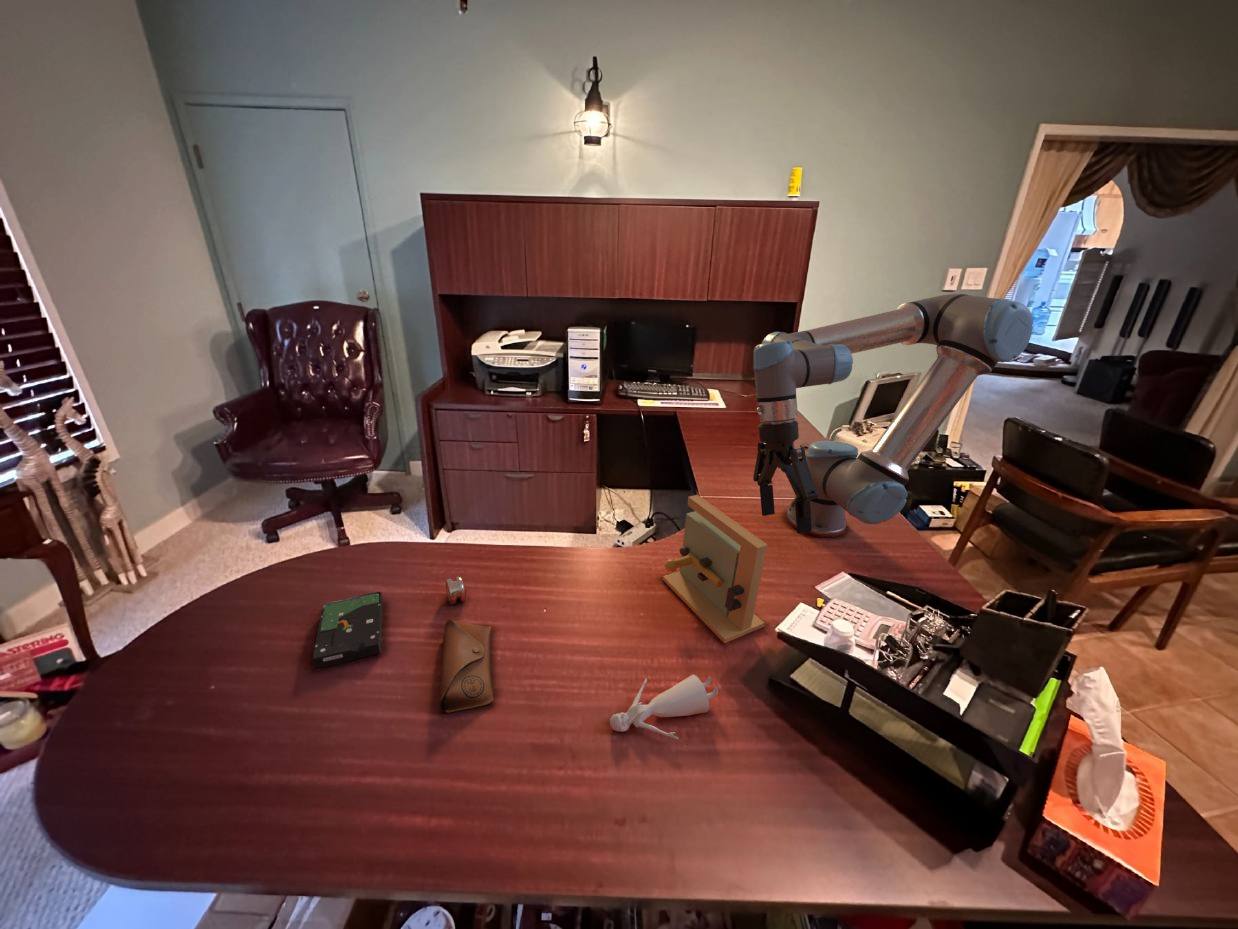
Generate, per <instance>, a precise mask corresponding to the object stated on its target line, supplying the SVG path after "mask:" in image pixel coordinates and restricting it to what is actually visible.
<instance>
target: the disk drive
mask: <svg viewBox="0 0 1238 929" xmlns="http://www.w3.org/2000/svg"><path fill="white" fill-rule="evenodd" d="M383 611H384V597H383V594H382V591H376V592H371V593H365V594H361V595H355V596H351V598H344V599H339V600H335V601H326V602H325V604H323V605H322V609H321V610H320V618H319V623H318V627H317V633H316V638H315V645H314V648H313V654H312V661H313V664H314V668H315V669H319V668H324V667H328V666H329V667H330V666H333V665H338V664H341V663H346V662H350V661H354V660H355V661H356V660H358V659H362V658H368V657H371V656H375V655H378V654H381V653H382V647H383V617H384V616H383V613H384V612H383Z"/></svg>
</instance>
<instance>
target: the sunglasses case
mask: <svg viewBox="0 0 1238 929" xmlns="http://www.w3.org/2000/svg"><path fill="white" fill-rule="evenodd" d="M443 631H444V632H443V642H442V654H441V668H440V679H439V680H440V682H439V708H440V710H441V711H443V712H444V713H447V714H452V713H458V712H463V711H464V712H465V711H469V710H473V709H476V708H481V707H484V706H487V705H490V704H492V703H493V702H494V700H495V698H494V697H495V696H494V690H493V689H494V688H493V682H492V671H491V633H492V625H481V624H474V623H468V622H463V621H462V622H461V621H457V620H453V619H452V618H449V619H448V620H447V621H446V622H445V625H444V630H443Z"/></svg>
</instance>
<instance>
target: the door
mask: <svg viewBox="0 0 1238 929" xmlns="http://www.w3.org/2000/svg"><path fill="white" fill-rule="evenodd" d="M687 506H688V507H689V508H690V509H692V510H693V511H691V512H688V513H687V512H686V513H685V514H686V515H685V522H684V530H683V539H682V540H683V541H682V546H681V547H680V548H679V554H680V555H681V557H680V558H682V557H685V556H687V555H688V554H689V553H692V554H693V555H694V556H695V557H696V558H698V559H699V560H700V562H699V564H701V565H702V566H703V567H704V568H705V567H708V568H709V569H710V570H711V571H712V572H713V573H715V574H716V575H717V576H718V577H719V578H720V579H721V580H723V584H722V585H721V586H720V587H717V586H716V585H715V584H714V583H713V582H711V581H710V580H709V579H708V578H707V577H706V576H705V575H704V574H703V573H702V572H700V571H699V570H698V569H697V568H696V567H695V566H694V565H693V564H692V563H691V564H689V565H686V566H683V567H680V568H679V570H678V571H676V572H675V571H674V572H671V573H669V574H665V575H663V576H662V581H663V582H664V583H665V584H666V585H667V586H668V588H670V589H671V590H672V591H673V592H674V593H675V594H676V596H678V597H679V599H681V601H682V602H684V604H685V605H686V606H687V607H688V608H689V609H690V610H691V611H692V612H693V613H694V614H695V615H696V616H697V617H698V618H699V619H700V620H701V621H702V622H703V623H704V624H705V625H706V626H707V627H708V628H709V629H710V630H711V631H712V633H713V634H715V636H716V637H717V638H718V639H719V640H720V641H721V642H722V643H723V644H726V643H729V642H731V641H734V640H736V639H739V638H741V637H743V636H746V635H747V634H750V633H752V632H755V631H758V630H760V629H762V628H764V627H765V622H764V621H763V620H762V619H761V618H759V616H758V615H756V614H755V610H756V604H757V600H758V595H759V590H760V586H761V581H762V580H761V579H762V575H763V570H764V564H765V559H766V556H767V549H768V544H767V543H766V542H764V540H761V539H760V538H759V537H758V536H757V535H755V534H753V533H752V532H751V531H749V530H748V529H746V528H745V527H744V526H742V525H741V524H739V523H738V522H736V521H735V520H734V519H732V518H731V517H730V516H728V515H727V514H726V513H724V512H722V511H721V510H720V509H718V508H717V507H716V506H714V505H713V504H712V503H710V502H708V501H707V500H706V499H704V498H703V497H701V496H700V495H698V494H694V495H689V496H688V497H687Z"/></svg>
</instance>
